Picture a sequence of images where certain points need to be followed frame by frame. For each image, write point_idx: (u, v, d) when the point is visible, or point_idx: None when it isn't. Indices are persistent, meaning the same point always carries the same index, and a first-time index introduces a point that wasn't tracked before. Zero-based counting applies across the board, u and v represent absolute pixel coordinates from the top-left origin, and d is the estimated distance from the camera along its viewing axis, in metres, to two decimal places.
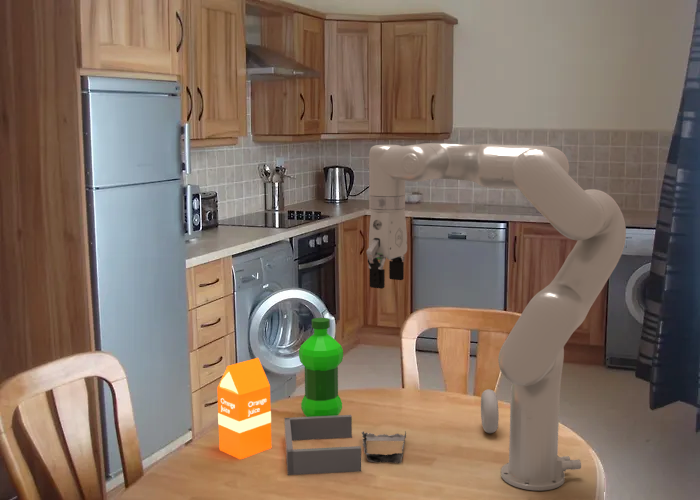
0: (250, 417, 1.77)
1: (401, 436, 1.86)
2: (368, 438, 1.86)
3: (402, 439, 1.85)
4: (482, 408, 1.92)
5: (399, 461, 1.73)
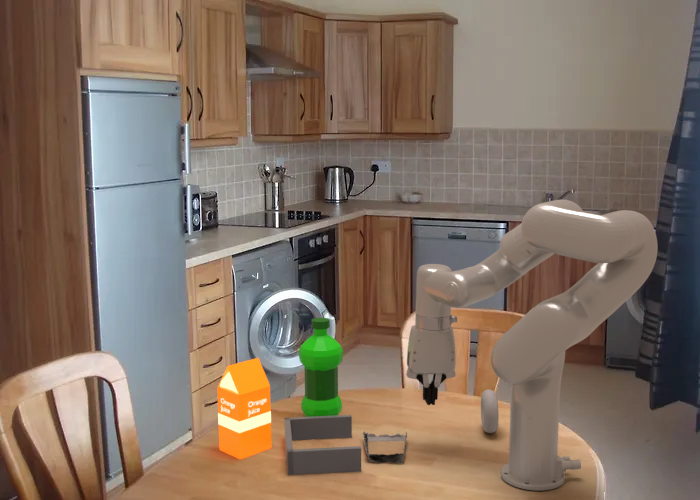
0: (250, 417, 1.77)
1: (402, 436, 1.86)
2: (369, 438, 1.86)
3: (403, 439, 1.85)
4: (482, 408, 1.92)
5: (401, 461, 1.73)
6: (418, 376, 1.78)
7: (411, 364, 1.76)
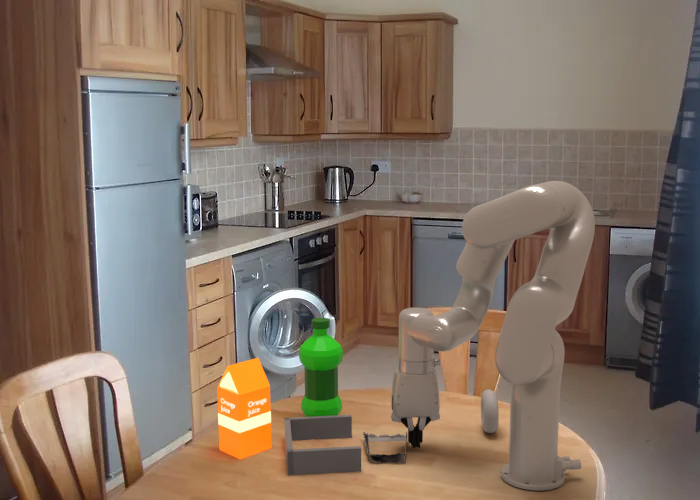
0: (250, 417, 1.77)
1: (402, 436, 1.86)
2: (369, 439, 1.86)
3: (403, 439, 1.85)
4: (482, 408, 1.92)
5: (402, 461, 1.73)
6: (402, 419, 1.78)
7: (395, 408, 1.77)
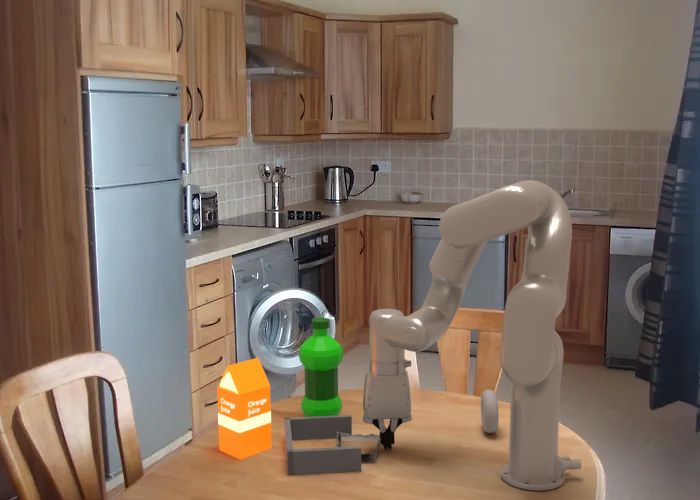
0: (250, 417, 1.77)
1: (376, 436, 1.86)
2: (343, 438, 1.86)
3: (377, 439, 1.86)
4: (482, 408, 1.92)
5: (373, 461, 1.74)
6: (374, 421, 1.78)
7: (366, 410, 1.76)
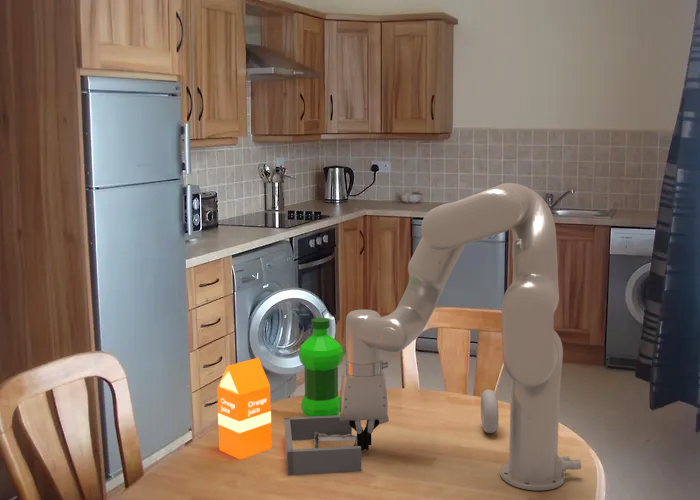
0: (250, 417, 1.77)
1: (353, 436, 1.86)
2: (320, 438, 1.86)
3: (354, 439, 1.86)
4: (482, 408, 1.92)
5: None
6: (351, 422, 1.77)
7: (342, 411, 1.75)
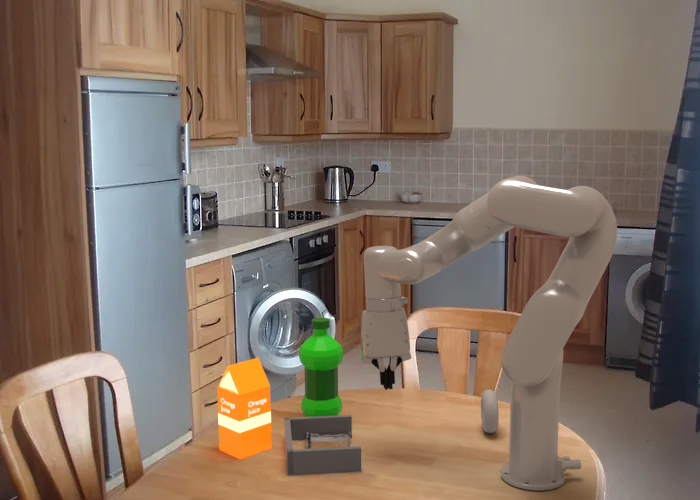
0: (250, 417, 1.77)
1: (345, 436, 1.86)
2: (313, 438, 1.86)
3: (346, 439, 1.86)
4: (482, 408, 1.92)
5: None
6: (373, 361, 1.75)
7: (364, 349, 1.73)
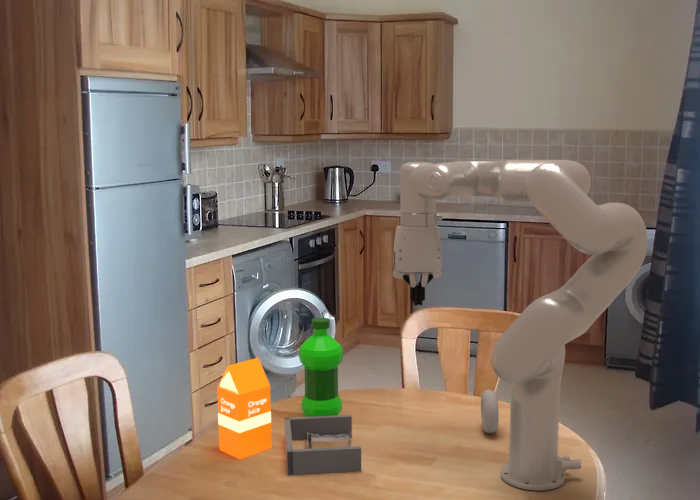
0: (250, 417, 1.77)
1: (346, 436, 1.86)
2: (313, 439, 1.86)
3: (347, 439, 1.86)
4: (482, 408, 1.92)
5: None
6: (405, 276, 1.76)
7: (397, 263, 1.75)
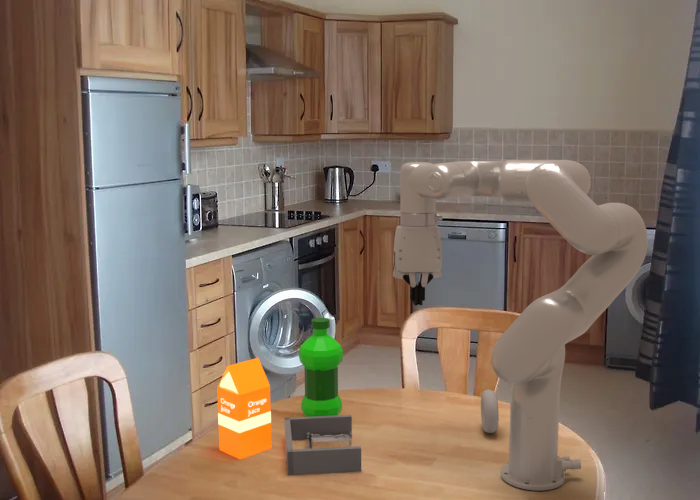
0: (250, 417, 1.77)
1: (346, 436, 1.86)
2: (313, 439, 1.86)
3: (347, 439, 1.86)
4: (482, 408, 1.92)
5: None
6: (405, 276, 1.76)
7: (397, 263, 1.75)
